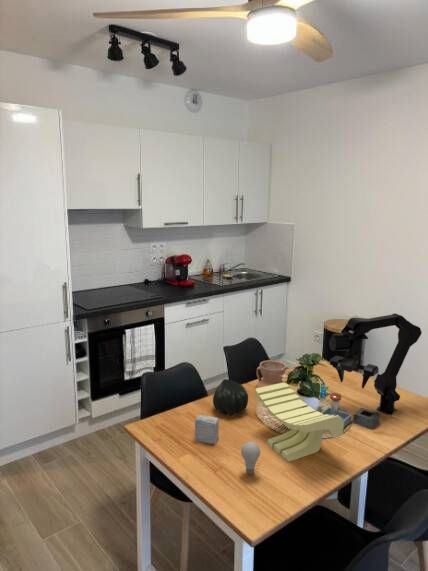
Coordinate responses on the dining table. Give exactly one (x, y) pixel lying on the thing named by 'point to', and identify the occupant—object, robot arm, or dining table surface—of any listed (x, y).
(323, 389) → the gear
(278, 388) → the slatted curved stool
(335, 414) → the pin
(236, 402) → the squash
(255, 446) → the lightbulb
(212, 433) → the medicine box
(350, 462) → the dining table surface
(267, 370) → the ceramic jug
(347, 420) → the tray
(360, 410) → the hitch block
